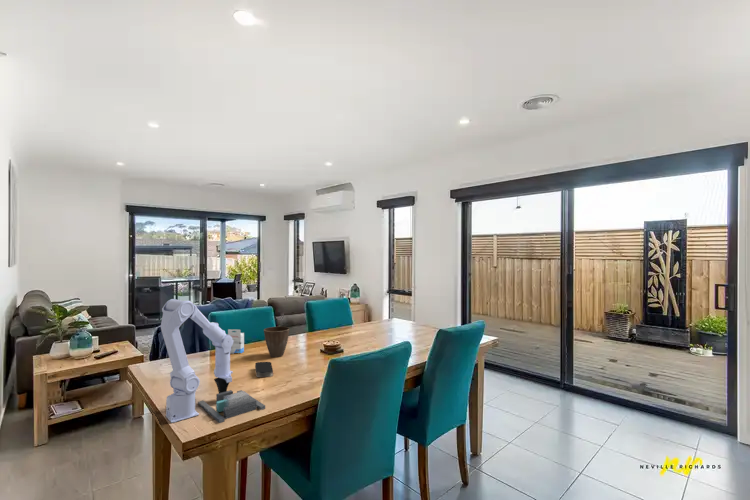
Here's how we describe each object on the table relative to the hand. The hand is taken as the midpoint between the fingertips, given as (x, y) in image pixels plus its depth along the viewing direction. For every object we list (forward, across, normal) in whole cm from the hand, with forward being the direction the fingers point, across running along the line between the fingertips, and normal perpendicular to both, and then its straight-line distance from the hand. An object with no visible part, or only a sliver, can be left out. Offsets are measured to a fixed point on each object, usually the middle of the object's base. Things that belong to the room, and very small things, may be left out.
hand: (222, 395), depth 151 cm
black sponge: (+2, +20, -29) cm, 36 cm away
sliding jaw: (+2, -7, 0) cm, 7 cm away
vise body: (+2, -9, 0) cm, 9 cm away
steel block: (+2, -14, 0) cm, 14 cm away
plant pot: (+2, +44, -49) cm, 65 cm away
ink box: (+2, +67, -33) cm, 75 cm away
